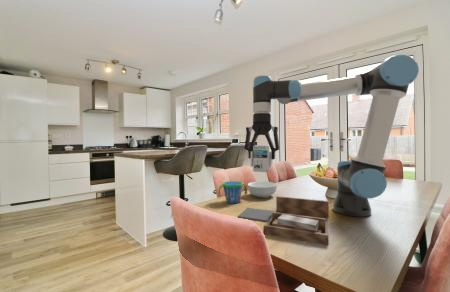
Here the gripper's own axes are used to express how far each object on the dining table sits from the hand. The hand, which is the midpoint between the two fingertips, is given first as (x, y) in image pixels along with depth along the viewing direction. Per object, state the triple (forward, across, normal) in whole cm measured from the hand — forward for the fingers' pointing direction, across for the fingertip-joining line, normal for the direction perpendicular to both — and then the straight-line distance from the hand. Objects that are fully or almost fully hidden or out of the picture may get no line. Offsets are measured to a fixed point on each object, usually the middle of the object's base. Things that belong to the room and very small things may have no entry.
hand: (261, 166), depth 99 cm
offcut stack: (+22, -16, +13) cm, 30 cm away
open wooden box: (+21, -16, +7) cm, 28 cm away
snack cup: (+22, +20, -16) cm, 33 cm away
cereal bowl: (+22, +8, -34) cm, 41 cm away
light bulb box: (+2, 0, 0) cm, 2 cm away
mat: (+22, +2, -1) cm, 22 cm away
